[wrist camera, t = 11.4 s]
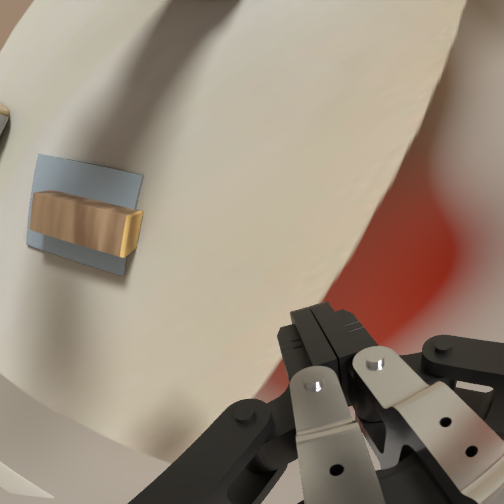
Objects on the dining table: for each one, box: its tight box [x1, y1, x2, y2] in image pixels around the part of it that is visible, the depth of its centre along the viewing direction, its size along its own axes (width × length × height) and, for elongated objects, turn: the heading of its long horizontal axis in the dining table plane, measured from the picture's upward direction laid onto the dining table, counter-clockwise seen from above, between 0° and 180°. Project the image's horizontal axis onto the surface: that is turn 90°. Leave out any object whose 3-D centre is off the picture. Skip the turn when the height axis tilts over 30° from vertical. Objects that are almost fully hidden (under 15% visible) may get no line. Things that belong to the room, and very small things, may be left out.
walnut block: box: [29, 190, 143, 258], centre depth 33 cm, size 5×5×15 cm
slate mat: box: [26, 154, 143, 276], centre depth 35 cm, size 18×14×1 cm
